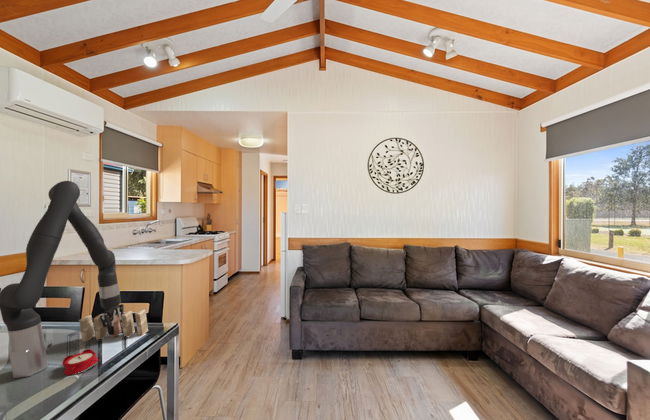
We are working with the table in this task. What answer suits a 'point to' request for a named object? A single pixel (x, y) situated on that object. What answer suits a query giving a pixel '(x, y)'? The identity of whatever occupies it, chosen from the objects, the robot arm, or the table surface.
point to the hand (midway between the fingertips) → (115, 331)
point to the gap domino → (116, 326)
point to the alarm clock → (79, 362)
